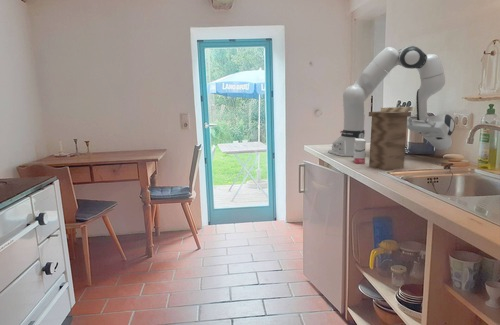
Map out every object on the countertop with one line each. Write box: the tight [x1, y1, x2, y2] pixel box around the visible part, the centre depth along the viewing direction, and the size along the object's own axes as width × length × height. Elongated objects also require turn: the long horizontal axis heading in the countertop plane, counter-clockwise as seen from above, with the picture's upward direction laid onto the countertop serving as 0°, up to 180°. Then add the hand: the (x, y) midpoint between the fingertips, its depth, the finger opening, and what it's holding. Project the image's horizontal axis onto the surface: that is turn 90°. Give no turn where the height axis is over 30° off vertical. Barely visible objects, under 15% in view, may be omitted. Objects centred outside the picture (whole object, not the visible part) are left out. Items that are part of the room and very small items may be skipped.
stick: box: [380, 106, 414, 112], centre depth 164 cm, size 20×2×2 cm, turn 120°
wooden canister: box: [368, 110, 412, 171], centre depth 164 cm, size 12×14×26 cm
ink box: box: [353, 138, 367, 164], centre depth 178 cm, size 9×5×12 cm, turn 168°
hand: (417, 119), depth 172 cm, fingers open, 8 cm apart
